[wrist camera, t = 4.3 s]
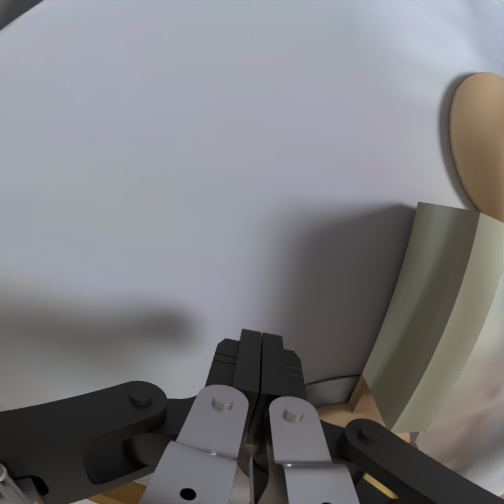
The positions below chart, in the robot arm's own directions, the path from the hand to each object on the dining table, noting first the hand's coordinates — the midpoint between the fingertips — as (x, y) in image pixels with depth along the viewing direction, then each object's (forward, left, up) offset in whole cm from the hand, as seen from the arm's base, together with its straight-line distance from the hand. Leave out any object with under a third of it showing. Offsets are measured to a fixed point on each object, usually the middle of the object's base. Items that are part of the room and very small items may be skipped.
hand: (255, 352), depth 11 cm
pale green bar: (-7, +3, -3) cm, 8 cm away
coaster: (-12, -12, -3) cm, 17 cm away
